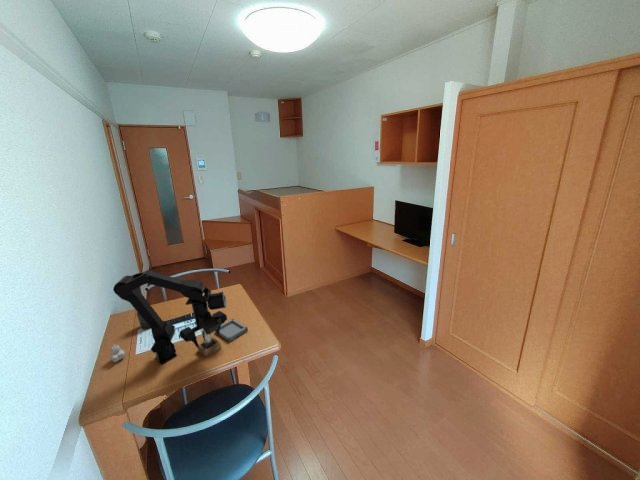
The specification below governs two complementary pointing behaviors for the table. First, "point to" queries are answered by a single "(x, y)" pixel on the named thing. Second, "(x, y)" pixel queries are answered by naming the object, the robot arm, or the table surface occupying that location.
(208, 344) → the pin
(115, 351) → the grey knobbly cluster
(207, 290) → the robot arm
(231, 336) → the tray
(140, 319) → the supplement bottle
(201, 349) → the socket
